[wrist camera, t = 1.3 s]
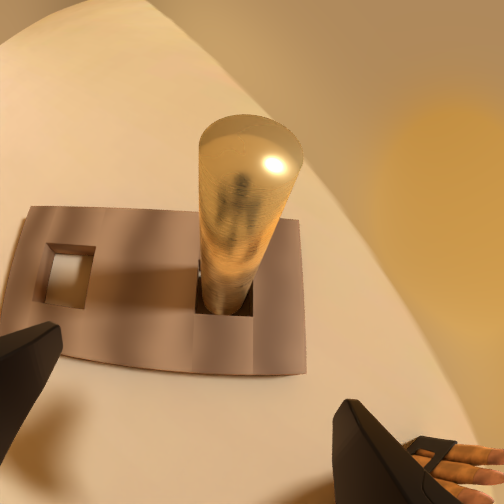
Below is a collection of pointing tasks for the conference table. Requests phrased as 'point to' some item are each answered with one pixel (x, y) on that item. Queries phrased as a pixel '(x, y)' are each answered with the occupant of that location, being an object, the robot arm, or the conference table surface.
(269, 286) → the block
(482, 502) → the ammunition clip
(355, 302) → the conference table surface
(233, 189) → the brass peg
